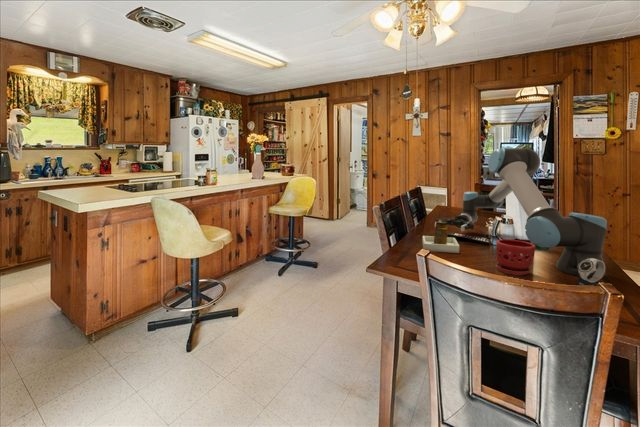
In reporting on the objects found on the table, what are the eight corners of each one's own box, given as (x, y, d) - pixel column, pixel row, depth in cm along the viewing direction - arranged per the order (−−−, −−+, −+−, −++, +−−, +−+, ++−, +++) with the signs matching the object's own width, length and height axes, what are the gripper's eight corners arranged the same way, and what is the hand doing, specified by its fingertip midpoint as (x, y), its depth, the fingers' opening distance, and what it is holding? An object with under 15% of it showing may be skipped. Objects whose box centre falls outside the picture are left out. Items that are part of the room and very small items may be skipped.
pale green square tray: (458, 253, 150) (459, 246, 149) (423, 250, 154) (424, 243, 154) (454, 244, 165) (454, 237, 165) (422, 242, 169) (422, 235, 169)
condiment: (450, 245, 159) (452, 222, 157) (439, 248, 155) (441, 224, 152) (437, 242, 165) (439, 219, 163) (427, 244, 161) (428, 221, 158)
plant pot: (538, 278, 119) (542, 247, 117) (500, 276, 122) (504, 246, 119) (523, 266, 132) (526, 238, 130) (489, 264, 134) (491, 237, 132)
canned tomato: (543, 246, 160) (546, 225, 158) (553, 251, 153) (556, 229, 151) (527, 246, 161) (529, 225, 159) (536, 251, 153) (538, 229, 151)
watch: (571, 287, 111) (576, 257, 109) (591, 285, 113) (596, 256, 111) (586, 293, 106) (591, 262, 104) (607, 292, 107) (612, 261, 105)
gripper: (485, 230, 173) (472, 237, 157) (440, 223, 189) (424, 230, 174) (487, 217, 171) (474, 223, 156) (441, 211, 188) (425, 216, 173)
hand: (448, 226), depth 165 cm, fingers open, 13 cm apart
